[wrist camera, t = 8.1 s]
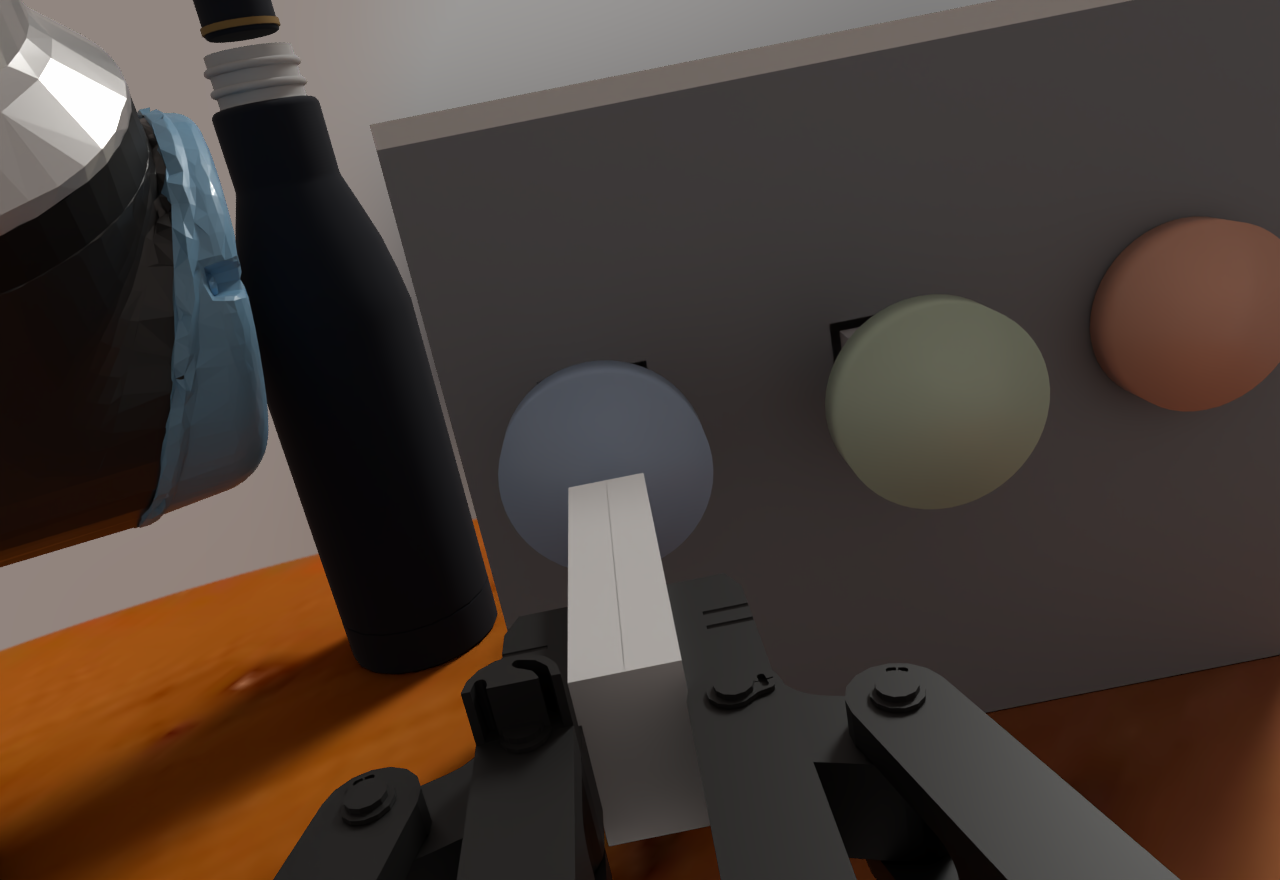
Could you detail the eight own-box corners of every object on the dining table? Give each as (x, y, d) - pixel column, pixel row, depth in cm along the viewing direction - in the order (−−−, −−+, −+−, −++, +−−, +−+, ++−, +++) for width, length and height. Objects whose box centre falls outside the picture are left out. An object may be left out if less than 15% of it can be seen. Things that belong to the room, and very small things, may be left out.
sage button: (1053, 487, 22) (1046, 284, 20) (850, 527, 22) (826, 327, 20) (981, 430, 26) (970, 257, 24) (808, 464, 26) (786, 293, 24)
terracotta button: (1297, 391, 25) (1309, 203, 23) (1114, 427, 25) (1113, 242, 23) (1197, 353, 29) (1201, 190, 27) (1040, 384, 29) (1034, 223, 27)
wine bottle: (396, 694, 36) (109, -175, 26) (330, 644, 41) (65, -107, 31) (525, 617, 40) (318, -168, 30) (451, 580, 45) (251, -109, 35)
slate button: (728, 551, 22) (694, 354, 20) (525, 591, 22) (474, 397, 20) (705, 485, 26) (675, 315, 24) (532, 519, 26) (491, 352, 24)
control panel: (1294, 651, 29) (1344, -69, 22) (553, 798, 29) (369, 124, 22) (1177, 564, 35) (1189, -32, 28) (557, 687, 35) (411, 123, 28)
